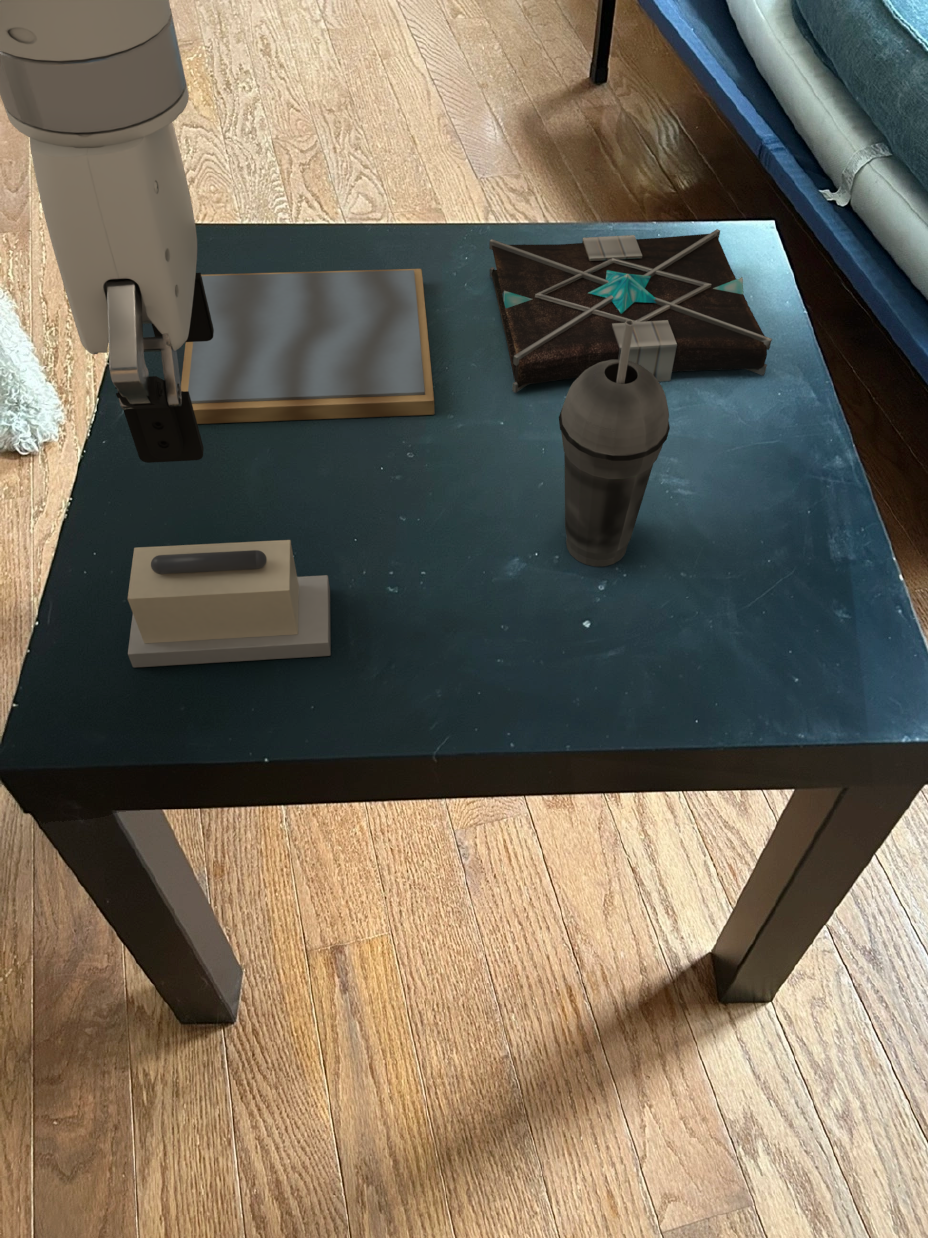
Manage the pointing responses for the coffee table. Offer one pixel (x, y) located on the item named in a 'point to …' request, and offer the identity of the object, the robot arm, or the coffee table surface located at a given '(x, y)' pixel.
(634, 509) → the beverage cup
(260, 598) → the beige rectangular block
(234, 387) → the board
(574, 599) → the coffee table surface
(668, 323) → the book
